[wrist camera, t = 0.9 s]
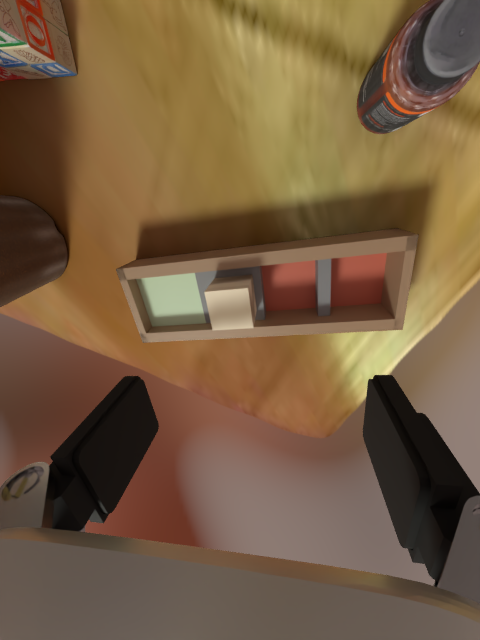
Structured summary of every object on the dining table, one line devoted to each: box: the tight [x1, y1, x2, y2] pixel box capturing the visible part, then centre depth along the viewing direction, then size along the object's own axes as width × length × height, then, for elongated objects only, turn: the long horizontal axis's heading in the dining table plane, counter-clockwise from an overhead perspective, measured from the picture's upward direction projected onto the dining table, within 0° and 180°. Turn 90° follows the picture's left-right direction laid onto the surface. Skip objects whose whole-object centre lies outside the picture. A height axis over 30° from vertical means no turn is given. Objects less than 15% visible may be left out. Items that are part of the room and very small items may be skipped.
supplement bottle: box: [357, 0, 480, 134], centre depth 19 cm, size 6×6×11 cm
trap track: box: [116, 228, 419, 343], centre depth 33 cm, size 11×34×5 cm, turn 98°
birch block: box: [204, 275, 257, 330], centre depth 31 cm, size 5×5×5 cm
